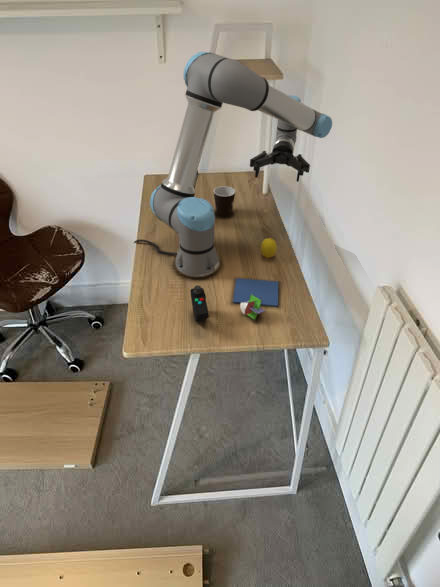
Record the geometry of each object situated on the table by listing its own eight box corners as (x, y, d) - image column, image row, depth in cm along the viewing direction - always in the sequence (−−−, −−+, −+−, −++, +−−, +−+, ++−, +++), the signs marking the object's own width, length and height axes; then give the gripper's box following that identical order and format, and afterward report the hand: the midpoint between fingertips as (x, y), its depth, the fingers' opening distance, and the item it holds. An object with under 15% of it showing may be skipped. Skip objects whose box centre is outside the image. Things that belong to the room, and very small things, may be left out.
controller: (204, 306, 135) (203, 280, 128) (210, 334, 126) (210, 308, 119) (190, 307, 134) (189, 282, 128) (195, 335, 125) (194, 310, 119)
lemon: (258, 253, 157) (260, 234, 152) (274, 252, 157) (276, 233, 152) (261, 262, 153) (262, 243, 147) (276, 261, 153) (278, 242, 148)
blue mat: (232, 303, 136) (232, 301, 136) (236, 279, 145) (236, 278, 145) (277, 306, 135) (277, 305, 134) (278, 282, 144) (278, 281, 144)
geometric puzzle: (255, 296, 135) (246, 287, 129) (272, 306, 132) (264, 297, 125) (242, 315, 135) (232, 307, 128) (259, 326, 131) (250, 318, 125)
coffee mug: (226, 221, 174) (226, 198, 167) (209, 214, 178) (209, 192, 171) (242, 209, 181) (244, 187, 174) (226, 203, 185) (226, 181, 178)
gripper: (316, 163, 158) (314, 190, 142) (248, 157, 162) (238, 182, 146) (319, 143, 154) (317, 168, 138) (249, 137, 157) (239, 161, 141)
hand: (277, 175), depth 142 cm, fingers open, 13 cm apart
